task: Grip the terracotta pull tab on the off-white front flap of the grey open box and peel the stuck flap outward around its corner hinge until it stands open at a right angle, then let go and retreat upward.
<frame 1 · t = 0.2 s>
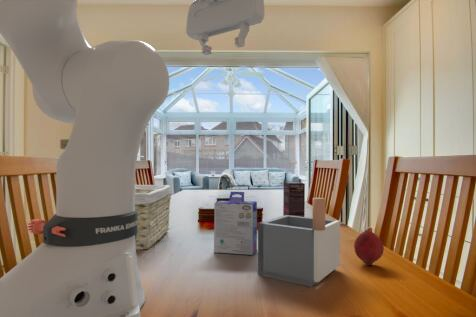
hand: (222, 50, 76), 47 cm above the table, tool pointing down, fingers open, 8 cm apart
supplement box: (293, 236, 98), on the table
flap: (327, 234, 63), point 8 cm above the table, hinge at 0.0°
storage basket: (134, 241, 92), on the table
ink cartridge box: (236, 252, 81), on the table
onion: (368, 265, 71), on the table
grey open box: (296, 271, 66), on the table
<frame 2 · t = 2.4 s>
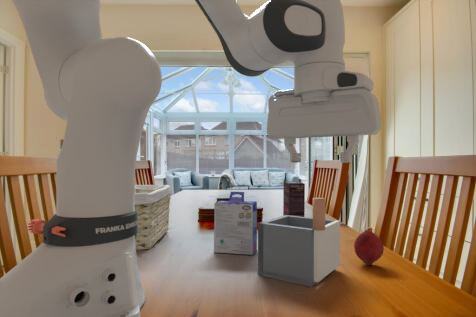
hand: (319, 162, 59), 22 cm above the table, tool pointing down, fingers open, 8 cm apart
nothing on the table moved.
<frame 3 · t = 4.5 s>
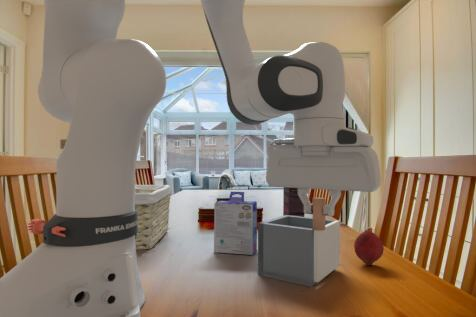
hand: (318, 214, 59), 13 cm above the table, tool pointing down, fingers closed on flap, 2 cm apart
flap: (327, 234, 63), point 8 cm above the table, hinge at 0.0°, touching gripper
everything else where it was.
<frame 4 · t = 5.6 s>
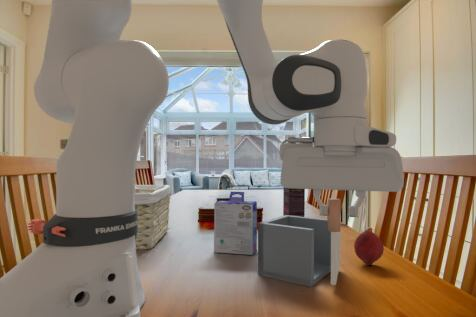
hand: (338, 216, 58), 13 cm above the table, tool pointing down, fingers open, 3 cm apart
flap: (335, 235, 62), point 8 cm above the table, hinge at 14.4°, touching gripper
everything else where it was.
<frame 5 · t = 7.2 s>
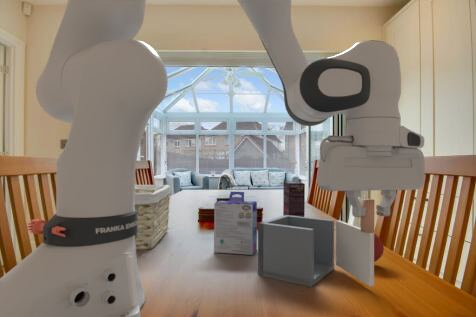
hand: (371, 216, 58), 13 cm above the table, tool pointing down, fingers open, 4 cm apart
flap: (353, 235, 62), point 8 cm above the table, hinge at 46.0°, touching gripper
everything else where it was.
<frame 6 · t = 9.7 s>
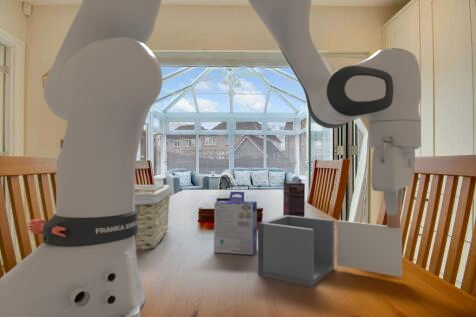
hand: (393, 212, 61), 13 cm above the table, tool pointing down, fingers open, 3 cm apart
flap: (367, 232, 64), point 8 cm above the table, hinge at 89.1°
everything else where it was.
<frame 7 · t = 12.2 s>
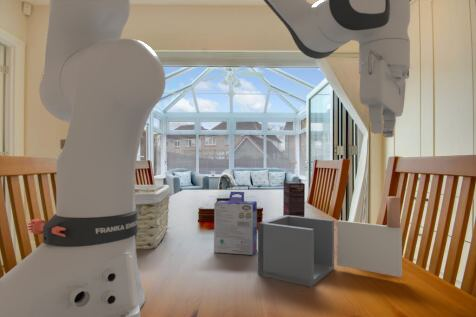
hand: (383, 135, 62), 27 cm above the table, tool pointing down, fingers open, 8 cm apart
nothing on the table moved.
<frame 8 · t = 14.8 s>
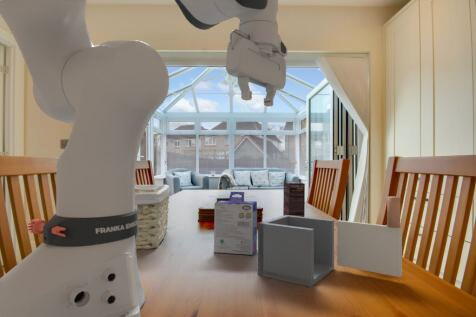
hand: (258, 103, 74), 35 cm above the table, tool pointing down, fingers open, 8 cm apart
at the end: flap at +89° (first picture: +0°); the gripper is holding nothing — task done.
